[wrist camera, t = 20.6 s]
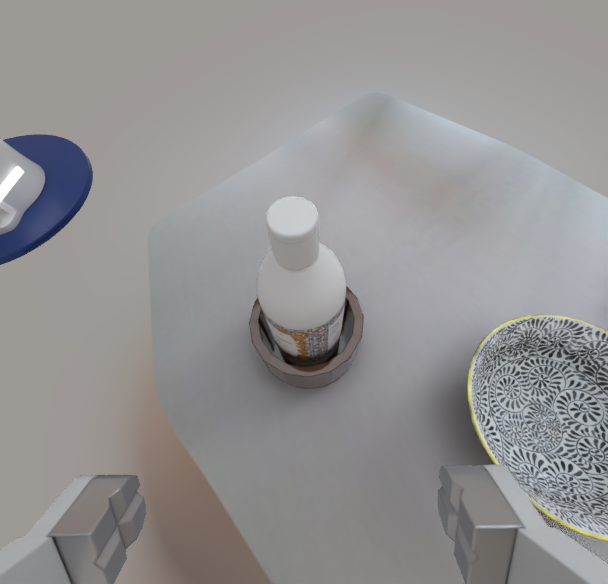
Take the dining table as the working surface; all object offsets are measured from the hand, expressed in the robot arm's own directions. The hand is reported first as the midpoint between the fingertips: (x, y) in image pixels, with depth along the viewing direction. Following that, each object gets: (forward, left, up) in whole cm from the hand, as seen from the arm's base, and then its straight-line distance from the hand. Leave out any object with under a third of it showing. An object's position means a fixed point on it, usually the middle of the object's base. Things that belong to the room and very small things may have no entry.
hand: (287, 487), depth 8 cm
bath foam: (+7, +10, -23) cm, 26 cm away
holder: (+7, +10, -24) cm, 27 cm away
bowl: (+19, -9, -24) cm, 32 cm away
